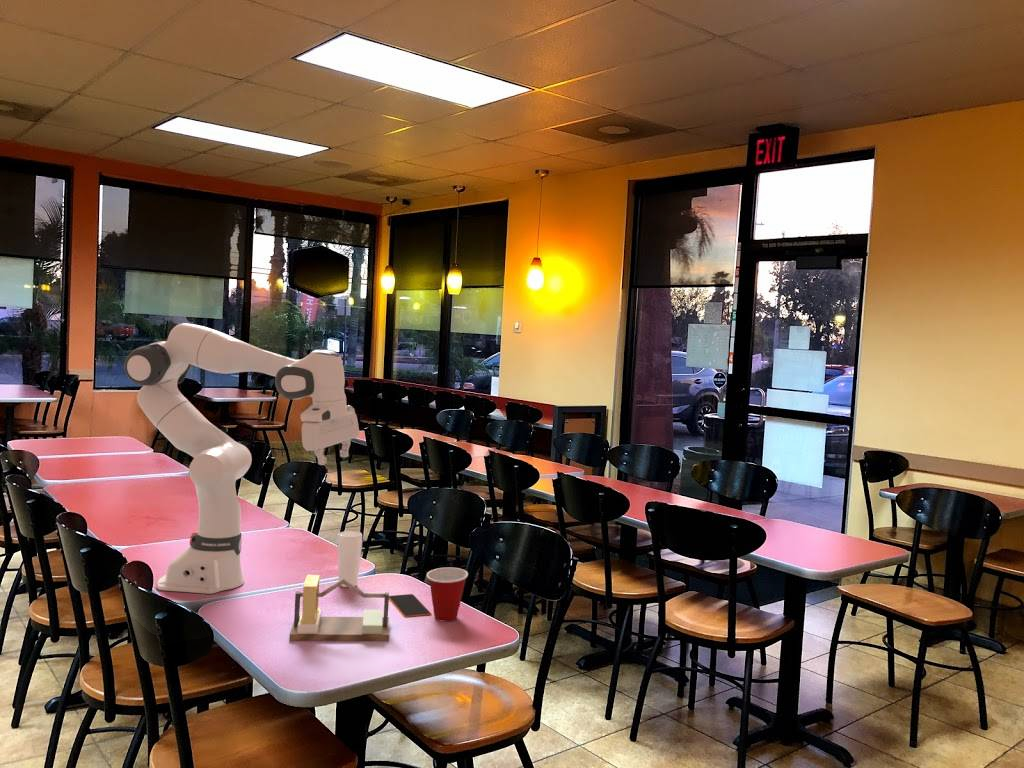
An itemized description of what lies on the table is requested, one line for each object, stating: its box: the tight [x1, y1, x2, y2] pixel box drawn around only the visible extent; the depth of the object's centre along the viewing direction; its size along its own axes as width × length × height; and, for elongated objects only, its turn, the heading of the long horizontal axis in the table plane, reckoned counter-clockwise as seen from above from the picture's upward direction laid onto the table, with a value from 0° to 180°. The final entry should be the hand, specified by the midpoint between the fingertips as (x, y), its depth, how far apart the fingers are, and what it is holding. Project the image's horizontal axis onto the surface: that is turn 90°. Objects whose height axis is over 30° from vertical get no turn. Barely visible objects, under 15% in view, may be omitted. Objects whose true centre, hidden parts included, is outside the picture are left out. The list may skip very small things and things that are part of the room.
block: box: [297, 608, 322, 634], centre depth 197 cm, size 5×11×2 cm, turn 9°
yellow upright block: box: [301, 574, 321, 624], centre depth 197 cm, size 4×9×9 cm, turn 9°
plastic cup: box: [426, 566, 469, 622], centre depth 212 cm, size 11×11×12 cm
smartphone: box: [389, 593, 432, 618], centre depth 220 cm, size 8×17×1 cm, turn 24°
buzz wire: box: [288, 579, 390, 642], centre depth 198 cm, size 23×12×13 cm, turn 99°
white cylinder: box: [337, 530, 363, 588], centre depth 233 cm, size 7×7×15 cm
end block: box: [362, 609, 383, 634], centre depth 199 cm, size 5×11×2 cm, turn 9°
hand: (333, 460), depth 220 cm, fingers open, 8 cm apart
